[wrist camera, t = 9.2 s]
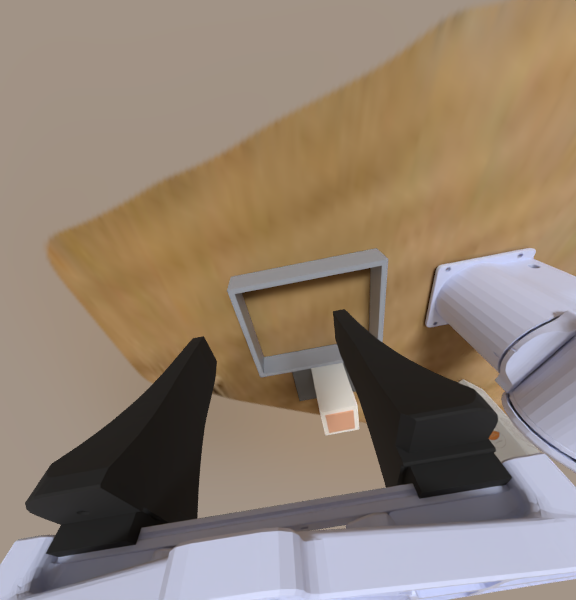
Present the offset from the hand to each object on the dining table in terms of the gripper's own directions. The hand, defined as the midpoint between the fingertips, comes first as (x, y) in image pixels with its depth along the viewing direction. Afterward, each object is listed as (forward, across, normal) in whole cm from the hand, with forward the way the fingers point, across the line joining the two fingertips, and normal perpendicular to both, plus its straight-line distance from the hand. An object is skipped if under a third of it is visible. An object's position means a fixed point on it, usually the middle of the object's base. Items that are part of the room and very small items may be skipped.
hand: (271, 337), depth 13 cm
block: (+10, -4, +18) cm, 21 cm away
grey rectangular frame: (+10, -3, +7) cm, 13 cm away
